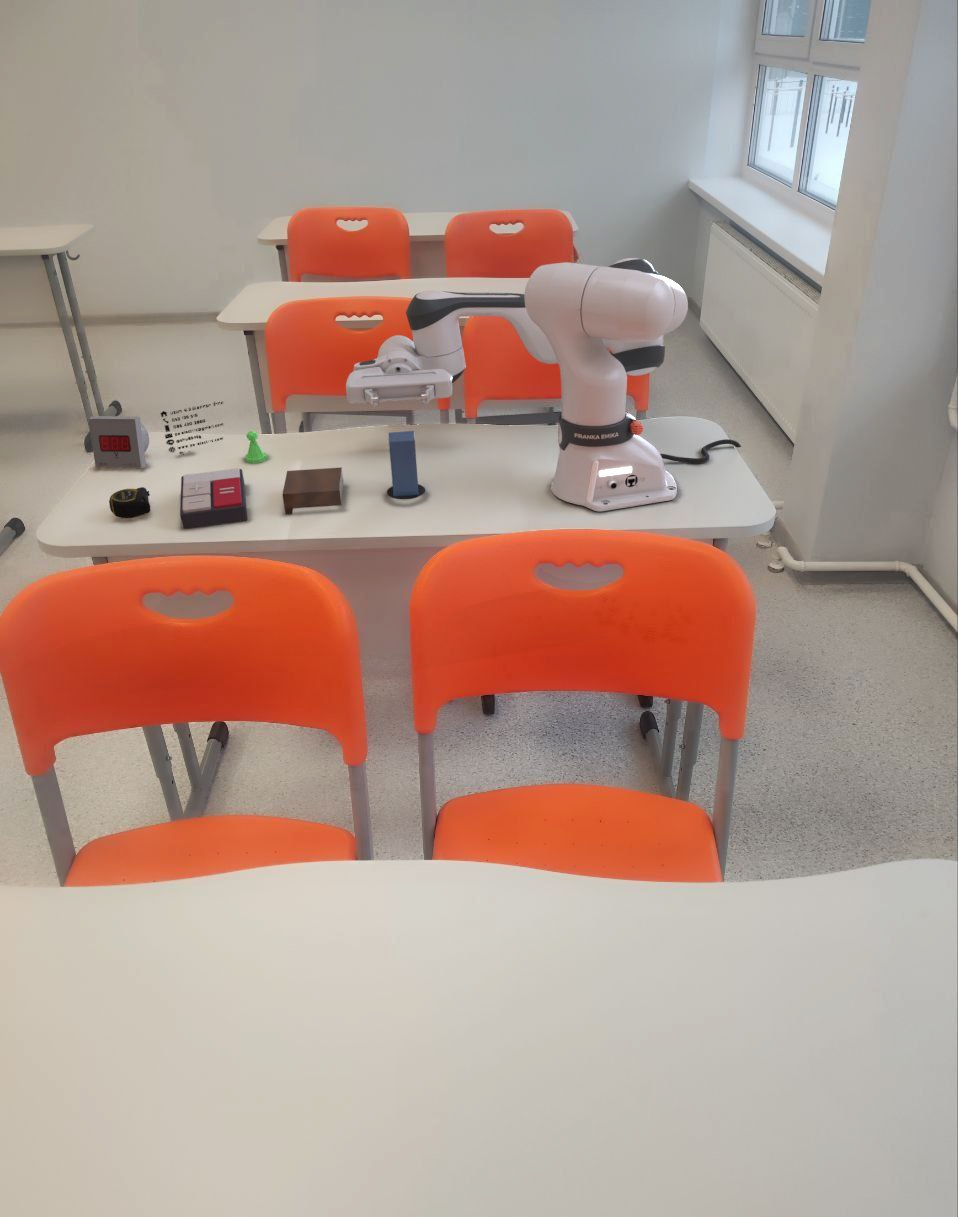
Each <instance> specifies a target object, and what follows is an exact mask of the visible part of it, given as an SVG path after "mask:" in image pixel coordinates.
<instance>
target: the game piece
mask: <svg viewBox="0 0 958 1217" xmlns="http://www.w3.org/2000/svg"><path fill="white" fill-rule="evenodd" d="M245 436H246V438H247V441H249V446H248V450H247V454H245V462H246V463H249V464H258V463H259V464H260V463H262V462H264V461H267V453H266V452H264V451H263V450H262V448H261V446H260V445H259V443H258V442H257V439H258V438H259V435H258V433H257V432H256V431H254V430H249V431H248V432H247V433H246V435H245Z"/></svg>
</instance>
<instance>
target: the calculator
mask: <svg viewBox="0 0 958 1217" xmlns="http://www.w3.org/2000/svg"><path fill="white" fill-rule="evenodd" d="M246 493H247V492H246V484H245V478H244V472H243V469H242V468H237V467H236V468H229V469H221V470H212V471H206V472H196V473H189V474H188V473H187V474H184V475H181V477H180V506H179V507H180V508H179V511H180V512H179V516H180V520H181V524H182V528H183V529H185V530H188V529H195V528H196V529H197V528H203V527H212V526H219V525H225V524H232V523H241V522H246V521H248V510H247V509H248V508H247V507H248V506H247V495H246Z"/></svg>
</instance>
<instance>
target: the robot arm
mask: <svg viewBox="0 0 958 1217" xmlns="http://www.w3.org/2000/svg"><path fill="white" fill-rule="evenodd" d="M688 310H689V301H688V297H687V294H686V292H685V291H684V289H683V288H682V287H681V286H680V285H679V284H678V283H676V282H675V281H674V280H672V279H670V278H668V277H667V276H663V275H661V274H659V272H658V271H657V270H655V268H654V267H653V265H652V264H651V262H649V261H648V260H646V259H644V258H636V257H627V258H622V259H619V260H617V261H616V262H614V263H612V264H611V265H609V266H603V265H602V266H601V265H595V264H593V265H592V264H584V263H576V262H557V263H549V264H542V265H539V266H538V267H537V268H536V269H535V270H533V272H532V274H531V275H530V276H529V278H528V280H527V282H526V284H525V288H524V293H517V292H516V293H514V292H457V291H456V292H455V291H444V290H425V291H422V292H418V293H416V294H415V295H414V296H413V297H412V299H411V300H410V301H409V304H408V306H407V308H406V311H405V315H406V319H407V322H408V325H409V328H410V330H411V336H412V340H411V339H410V338H409V337H407V336H405V335H401V334H397V335H396V334H395V335H393V336H390V337H388V338H387V339H386V340H384V342H382V344H381V345H380V347H379V349H378V352H377V357H376V358H373V359H369V360H364V361H361V362H355V363H354V365H353V371H352V372H350V373H349V374H348V377H347V379H346V383H345V393H346V401H347V403H349V404H352V405H354V404H369V405H370V407H372V408H375V407H379V406H380V403H385V402H386V403H387V402H401V401H417V400H421V404H430V401H432V400H433V399H447V398H450V397H452V396H453V384H454V383H455V382H456V381H457V380H459V378H460V377H461V376H462V375H463V373H464V372H465V370H466V368H467V364H466V358H465V351H464V345H463V342H462V335H461V329H460V324H459V323H460V322H459V319H460V317H461V318H462V317H498V318H502V319H504V320H506V321H507V322H508V323H509V324H510V325H511V326H512V327H513V329H514V331H515V332H516V334H517V336H518V337H519V340H520V341H521V343H522V345H523V346H524V348H525V350H526V351H527V352H528V354H529V355H530V356H531V357H532V358H533V359H535V360H536V361H538V362H540V363H542V364H546V365H555V364H556V365H557V364H558V368H559V374H560V389H561V391H560V392H561V412H560V413H559V414H558V423H557V444H558V446H559V449H558V456H557V462H556V468H555V472H554V476H553V480H552V483H551V486H550V490H551V492H552V493H553V495H554V496H555V497H556V498H558V499H560V500H562V501H564V502H567V503H570V504H574V505H578V506H581V507H585V508H587V509H590V510H591V511H594V512H600V513H601V512H607V511H608V512H609V511H613V510H619V509H624V508H633V507H638V506H644V505H650V504H656V503H657V504H658V503H662V502H667V501H672V500H674V499H676V497H677V495H678V485H677V482H676V481H675V480H676V479H674V477H673V475H672V474H671V473H670V472H668V471H667V470H666V468H665V462H664V460H668V461H673V462H678V463H687V464H688V463H689V464H690V463H691V464H701V463H706V462H708V461H709V460H710V454H709V452H708V450H710V449H712V448H715V447H718V446H722V445H732V446H734V447H735V448H741V447H742V445H741V444H740V443H739V442H738V441H736V440H734V439H728V438H725V439H719V440H715V441H712V442H710V443H707V444H705V445H704V446H703V447H701V450H700V451H701V454H702V456H703V457H684V456H675V455H672V454H668V453H667V454H666V453H660V452H659V450H658V449H657V448H656V447H655V446H654V445H653V444H652V443H650V442H649V441H647V440H646V439H644V438H643V437H642V436H640V435H642V433H644V426H643V424H642V423H641V421H639V420H637V418H636V417H635V416H634V415H633V414H631V412H629V410H627V408H626V406H627V390H628V376H631V377H632V376H633V377H639V376H644V375H647V374H649V373H652V372H653V371H655V370H656V369H657V368H660V367H661V366H662V364H663V363H664V362H665V355H666V346H665V345H664V335H667V334H669V333H671V332H673V331H675V330H677V329H678V328H679V327H680V326H681V325H682V324H683V322H684V321H685V319H686V317H687V314H688Z"/></svg>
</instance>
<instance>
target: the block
mask: <svg viewBox="0 0 958 1217" xmlns="http://www.w3.org/2000/svg"><path fill="white" fill-rule="evenodd" d="M415 437H416V436H415V430H408V431H407V430H406V431H391V432H390V431H389V432H388V448H389V459H390V461H389V462H390V471H391V472H390V473H391V482H392V483H391V484H392V486H393V495H394V497H399V496H414V495H419V492H418V484H419V480H418V479H419V478H418V465H417V451H416V438H415Z"/></svg>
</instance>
